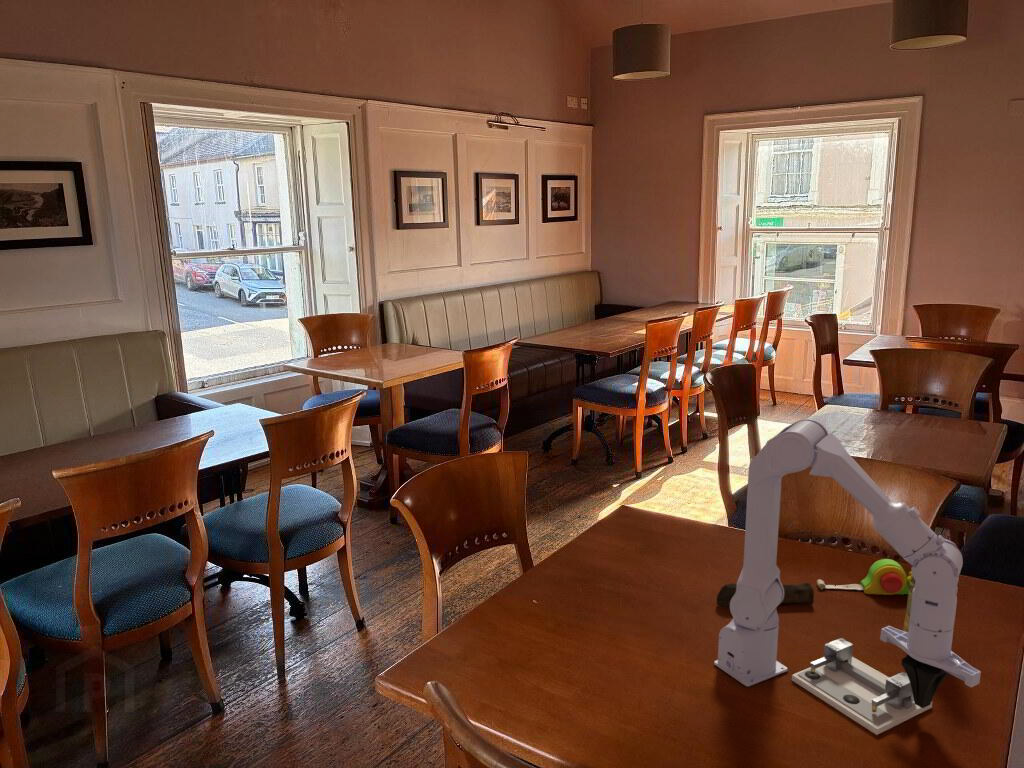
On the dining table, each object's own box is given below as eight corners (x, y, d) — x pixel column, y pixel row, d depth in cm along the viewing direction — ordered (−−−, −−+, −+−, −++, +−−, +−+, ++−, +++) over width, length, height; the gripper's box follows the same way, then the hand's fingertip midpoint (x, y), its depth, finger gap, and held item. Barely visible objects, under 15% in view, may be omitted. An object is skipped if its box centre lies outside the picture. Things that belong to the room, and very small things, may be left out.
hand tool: (806, 597, 157) (808, 576, 156) (814, 607, 153) (816, 585, 152) (713, 600, 156) (713, 579, 155) (718, 610, 153) (719, 588, 152)
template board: (876, 735, 115) (878, 721, 115) (791, 680, 129) (792, 668, 129) (931, 707, 122) (933, 695, 121) (844, 657, 135) (845, 646, 135)
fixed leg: (816, 679, 127) (818, 658, 126) (805, 671, 129) (806, 651, 128) (851, 664, 131) (853, 644, 130) (839, 657, 133) (841, 637, 132)
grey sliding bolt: (879, 717, 117) (881, 696, 117) (865, 709, 119) (867, 687, 119) (914, 700, 121) (916, 679, 120) (900, 692, 123) (902, 671, 122)
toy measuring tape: (923, 600, 154) (926, 570, 153) (820, 594, 158) (822, 564, 156) (912, 585, 161) (915, 556, 159) (813, 580, 164) (815, 551, 162)
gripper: (997, 637, 110) (986, 722, 113) (904, 594, 123) (896, 672, 126) (967, 651, 107) (956, 738, 110) (874, 606, 120) (867, 685, 123)
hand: (922, 703), depth 118 cm, fingers closed
